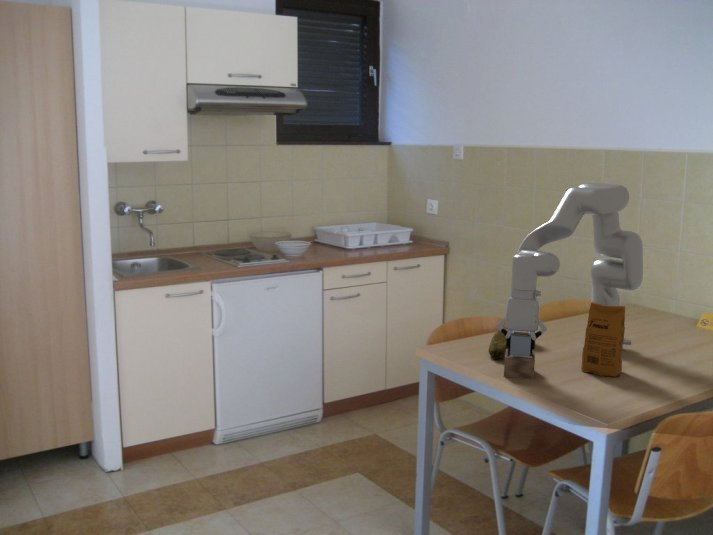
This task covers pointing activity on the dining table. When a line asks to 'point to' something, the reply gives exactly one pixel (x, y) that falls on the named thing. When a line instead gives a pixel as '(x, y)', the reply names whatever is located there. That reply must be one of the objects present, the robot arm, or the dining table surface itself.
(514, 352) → the cap block
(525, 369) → the box base
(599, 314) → the coffee package
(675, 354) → the dining table surface
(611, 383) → the dining table surface
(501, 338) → the potato
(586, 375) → the dining table surface
